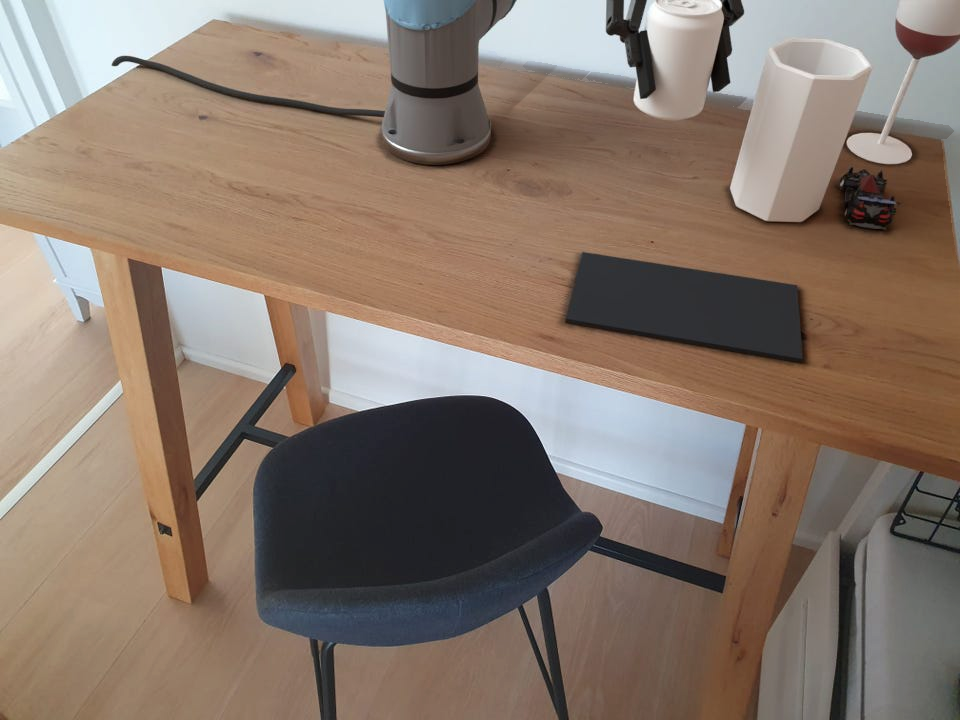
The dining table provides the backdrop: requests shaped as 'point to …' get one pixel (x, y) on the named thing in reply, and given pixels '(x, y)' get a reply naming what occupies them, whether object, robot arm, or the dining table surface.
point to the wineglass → (911, 67)
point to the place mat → (687, 306)
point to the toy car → (863, 190)
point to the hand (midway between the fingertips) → (685, 90)
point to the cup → (798, 127)
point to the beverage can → (681, 56)
